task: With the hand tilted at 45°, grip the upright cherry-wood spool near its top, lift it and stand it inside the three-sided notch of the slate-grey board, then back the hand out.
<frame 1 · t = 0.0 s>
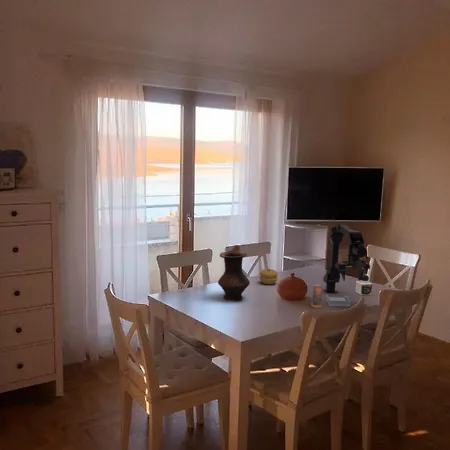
hand: (351, 280, 282), 15 cm above the table, tool pointing down, fingers open, 9 cm apart
wooden spool: (316, 306, 282), on the table
medicine bottle: (363, 293, 310), on the table
notched board: (337, 303, 289), on the table
dark brown vase: (233, 298, 293), on the table
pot: (268, 283, 327), on the table
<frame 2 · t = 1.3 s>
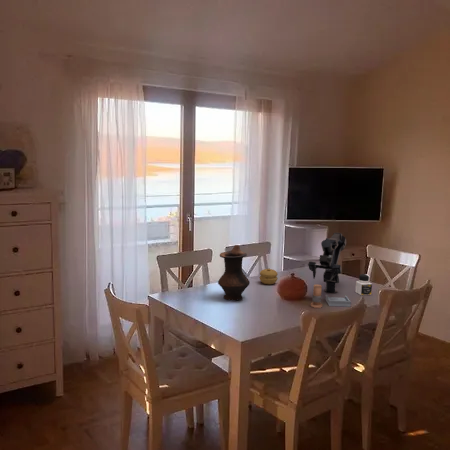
hand: (321, 279, 287), 13 cm above the table, tool tilted 45°, fingers open, 9 cm apart
nothing on the table moved.
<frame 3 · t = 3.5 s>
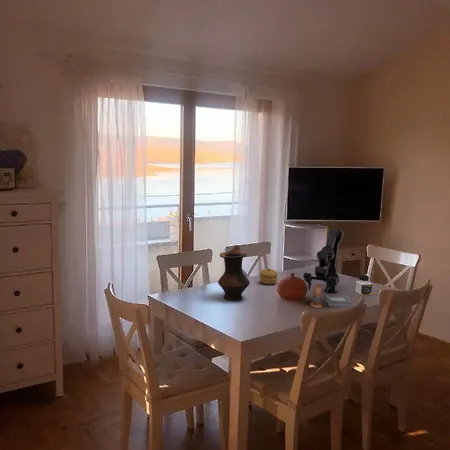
hand: (317, 291, 280), 9 cm above the table, tool tilted 45°, fingers open, 9 cm apart
nothing on the table moved.
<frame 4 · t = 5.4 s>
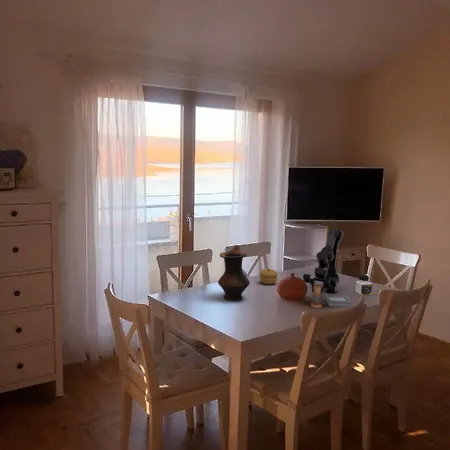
hand: (316, 292, 280), 8 cm above the table, tool tilted 45°, fingers closed on wooden spool, 4 cm apart
wooden spool: (316, 306, 282), on the table, touching gripper
everything else where it was.
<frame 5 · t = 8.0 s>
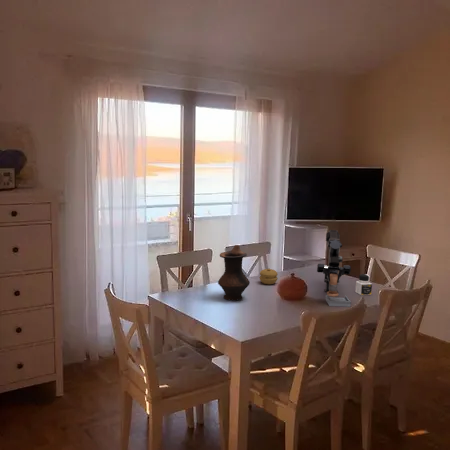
hand: (333, 281, 282), 14 cm above the table, tool tilted 45°, fingers closed on wooden spool, 4 cm apart
wooden spool: (332, 294, 285), point 6 cm above the table, touching gripper
everything else where it was.
when the fingers open (11 cm above the table, at t = 10.5 s): wooden spool drops 1 cm, resting on notched board.
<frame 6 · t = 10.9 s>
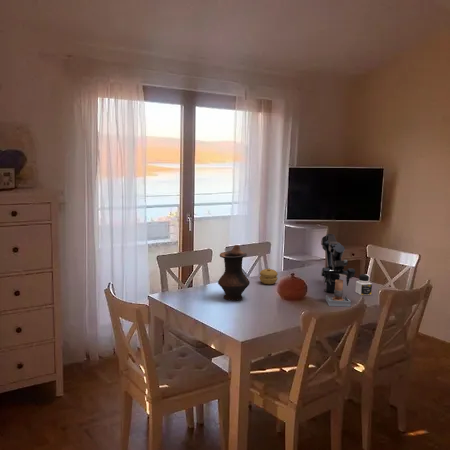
hand: (339, 285, 286), 11 cm above the table, tool tilted 45°, fingers open, 9 cm apart
wooden spool: (338, 300, 288), point 2 cm above the table, touching notched board
everything else where it was.
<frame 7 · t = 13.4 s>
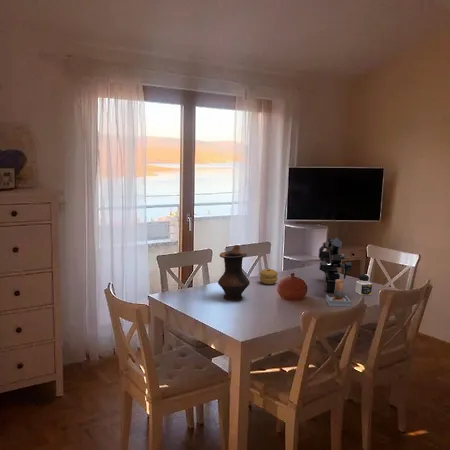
hand: (336, 278, 294), 13 cm above the table, tool tilted 45°, fingers open, 9 cm apart
nothing on the table moved.
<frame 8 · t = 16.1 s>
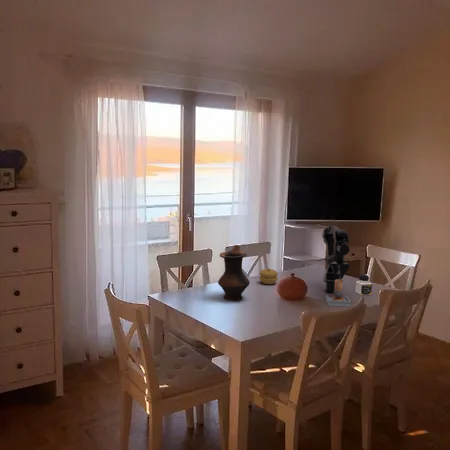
hand: (337, 277, 296), 13 cm above the table, tool pointing down, fingers open, 9 cm apart
nothing on the table moved.
at the end: wooden spool 0.1 cm off-centre on the notched board, point 1.6 cm above the notched board's base; wooden spool tilted 1°; the gripper is holding nothing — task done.
